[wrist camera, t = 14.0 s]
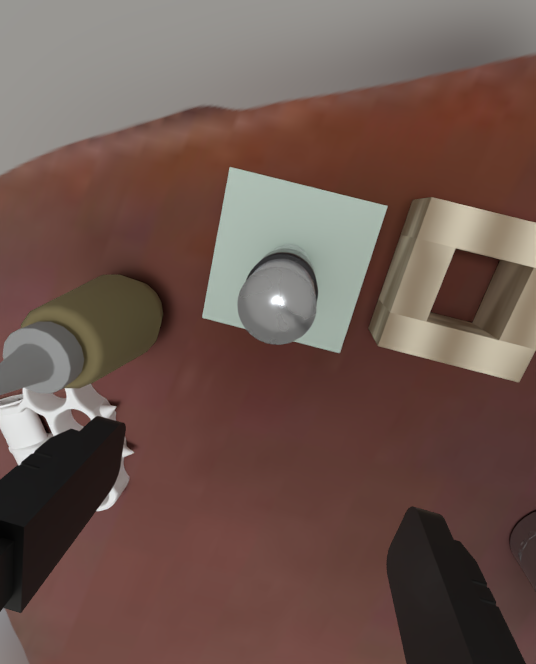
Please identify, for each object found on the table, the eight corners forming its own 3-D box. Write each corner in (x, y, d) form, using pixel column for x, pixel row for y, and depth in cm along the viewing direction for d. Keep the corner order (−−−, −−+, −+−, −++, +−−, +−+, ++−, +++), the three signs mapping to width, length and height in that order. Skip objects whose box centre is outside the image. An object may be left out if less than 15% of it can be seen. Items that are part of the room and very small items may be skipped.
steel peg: (318, 248, 33) (331, 275, 17) (305, 294, 34) (307, 357, 19) (271, 236, 33) (243, 252, 17) (260, 283, 34) (225, 336, 19)
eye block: (550, 233, 31) (594, 237, 26) (490, 359, 35) (519, 382, 30) (412, 199, 31) (431, 197, 26) (368, 328, 35) (377, 345, 30)
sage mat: (386, 206, 32) (387, 206, 31) (339, 351, 36) (339, 353, 35) (231, 167, 32) (229, 166, 31) (203, 316, 36) (202, 317, 36)
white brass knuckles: (-8, 371, 42) (106, 349, 39) (52, 498, 47) (156, 485, 44) (-34, 384, 38) (88, 361, 36) (33, 518, 43) (145, 506, 41)
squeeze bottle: (159, 260, 35) (20, 302, 18) (184, 337, 37) (81, 440, 20) (86, 277, 36) (-109, 333, 19) (114, 351, 39) (-39, 459, 22)
